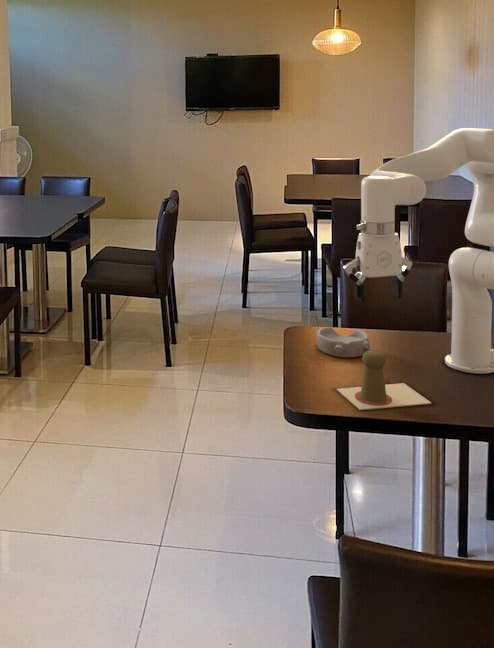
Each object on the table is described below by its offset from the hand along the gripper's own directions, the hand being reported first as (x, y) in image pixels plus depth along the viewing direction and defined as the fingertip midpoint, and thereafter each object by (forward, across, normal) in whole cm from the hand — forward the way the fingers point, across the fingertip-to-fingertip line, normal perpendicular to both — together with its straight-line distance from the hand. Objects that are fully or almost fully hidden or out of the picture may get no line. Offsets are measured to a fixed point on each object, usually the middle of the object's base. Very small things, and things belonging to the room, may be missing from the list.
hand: (378, 298), depth 176 cm
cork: (+24, -3, -2) cm, 24 cm away
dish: (+24, +6, +29) cm, 39 cm away
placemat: (+24, 0, -2) cm, 24 cm away
